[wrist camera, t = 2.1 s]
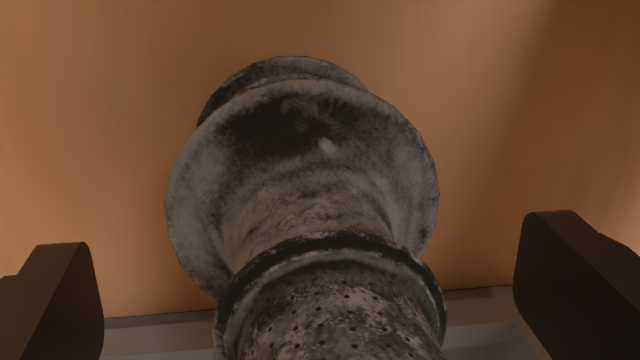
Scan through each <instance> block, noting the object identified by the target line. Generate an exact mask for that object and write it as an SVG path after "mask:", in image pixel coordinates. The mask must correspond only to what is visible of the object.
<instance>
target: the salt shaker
mask: <svg viewBox="0 0 640 360" xmlns="http://www.w3.org/2000/svg"><path fill="white" fill-rule="evenodd" d="M439 195H440V193H439V187H438V181H437V175H436V169H435V163H434V161H433V159H432V157H431V155H430V153H429V151H428V149H427V146H426V144H425V142H424V140H423V138H422V136H421V134H420V133H419V132H418V131H417V130H416V128H415V127H414V126H413V125H412V124H411V123H410V122H409V121H408V120H407V119H406V118H405V117H404V116H403V115H402V114H401V113H400V112H399V110H398V109H397V108H396V107H394V106H393V105H391V104H389V103H387V102H386V101H384V100H382V99H381V98H379V97H377V96H375V95H374V94H372V93H370V92H369V91H368V90H367V89H366V88H365V87H364V86H363V85H362V84H361V82H360V81H359V80H358V79H357V78H356V77H355V76H353V75H351V74H350V73H348V72H346V71H345V70H343V69H341V68H340V67H338V66H336V65H334V64H333V63H329V62H326V61H322V60H318V59H314V58H311V57H307V56H279V57H276V58H272V59H268V60H265V61H261V62H257V63H254V64H251V65H250V66H248V67H246V68H245V69H243V70H241V71H239V72H238V73H236V74H234V75H233V76H231V77H229V78H228V79H227V80H226V81H225V82H224V83H223V84H222V85H221V86H220V88H219V89H218V90H217V91H216V92H215V93H214V94H213V95H212V96H211V97H210V99H209V101H208V103H207V104H206V106H205V108H204V110H203V112H202V114H201V116H200V117H199V119H198V124H197V129H196V130H195V131H194V132H193V133H192V134H191V135H190V136H189V138H188V139H187V141H186V143H185V145H184V147H183V149H182V151H181V152H180V154H179V156H178V158H177V160H176V162H175V164H174V165H173V167H172V170H171V175H170V180H169V185H168V190H167V195H166V200H165V212H166V221H167V231H168V237H169V240H170V242H171V244H172V247H173V249H174V251H175V254H176V256H177V258H178V261H179V263H180V265H181V267H182V268H183V269H184V270H185V271H186V273H187V274H188V275H189V276H190V277H191V279H192V280H193V281H194V282H195V284H196V285H197V286H198V287H199V288H200V290H202V291H203V292H204V293H206V294H207V295H209V296H210V297H212V298H213V299H214V300H216V301H217V302H218V303H217V307H216V311H215V315H214V319H213V323H212V327H211V333H212V344H213V355H214V357H215V359H216V360H447V359H446V357H445V355H444V353H443V351H442V349H441V348H442V345H443V343H444V341H445V335H446V328H447V320H448V314H447V308H446V303H445V298H444V293H443V291H442V289H441V287H440V286H439V284H438V282H437V280H436V279H435V277H434V275H433V273H432V272H431V270H430V268H429V267H428V266H427V265H426V264H425V263H424V262H423V261H422V260H420V258H421V256H422V255H423V254H424V251H425V249H426V247H427V244H428V242H429V239H430V237H431V235H432V232H433V230H434V228H435V225H436V218H437V210H438V203H439Z"/></svg>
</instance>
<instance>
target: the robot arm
mask: <svg viewBox="0 0 640 360" xmlns="http://www.w3.org/2000/svg"><path fill="white" fill-rule="evenodd" d="M513 297H514V301H515V304H516V307H517V310H518V312H519V313H520V315H521V316H522V318H523V319H524V321H525V322H526V323H527V325H528V326H529V327H530V329H531V330H532V332H533V333H534V334H535V336H536V337H537V339H538V340H539V341H540V343H541V344H542V345H543V347H544V348H545V350H546V351H547V352H548V354H549V355H550V357H551V358H552V359H553V360H640V257H639V256H638V255H637V254H636V253H635V252H633V251H632V250H631V249H630V248H628V247H627V246H625V245H623V244H621V243H619V242H617V241H615V240H613V239H611V238H609V237H607V236H605V235H603V234H601V233H598V232H597V231H596V230H595V229H593V228H592V227H591V226H590V225H589V224H588V223H586V222H585V221H584V220H583V219H582V218H581V217H579V216H578V215H577V214H576V213H575V212H573V211H571V210H556V211H542V212H531V213H528V214H527V215H526V216H525V218H524V221H523V224H522V229H521V235H520V241H519V247H518V253H517V259H516V265H515V271H514V277H513ZM103 343H104V315H103V310H102V305H101V300H100V295H99V291H98V286H97V281H96V276H95V271H94V267H93V262H92V257H91V253H90V250H89V247H88V245H87V244H86V243H85V242H72V243H58V244H43V245H38V246H36V247H35V248H34V250H33V251H32V253H31V254H30V256H29V257H28V259H27V260H26V262H25V264H24V265H23V267H22V268H21V270H20V271H19V273H18V274H17V275H13V276H4V277H3V278H1V279H0V360H99V358H100V355H101V352H102V348H103Z"/></svg>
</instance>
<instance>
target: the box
mask: <svg viewBox="0 0 640 360" xmlns="http://www.w3.org/2000/svg"><path fill="white" fill-rule="evenodd" d="M443 293H444V298H445V303H446V308H447V314H448V320H447V328H446V335H445V341H444V343H443V345H442V348H441V349H442V351H443V353H444V355H445V357H446V359H447V360H553V359H552V358H551V357H550V355H549V354H548V352H547V351H546V350H545V348H544V347H543V345H542V344H541V343H540V341H539V340H538V339H537V337H536V336H535V334H534V333H533V332H532V330H531V329H530V327H529V326H528V325H527V323H526V322H525V321H524V319H523V318H522V316H521V315H520V313H519V312H518V310H517V307H516V304H515V301H514V297H513V285H509V286H497V287H485V288H473V289H461V290H449V291H443ZM215 311H216V310H205V311H193V312H181V313H169V314H157V315H144V316H132V317H120V318H108V319H104V343H103V348H102V352H101V355H100V358H99V360H216V359H215V357H214V355H213V344H212V333H211V327H212V323H213V319H214V315H215Z"/></svg>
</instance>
